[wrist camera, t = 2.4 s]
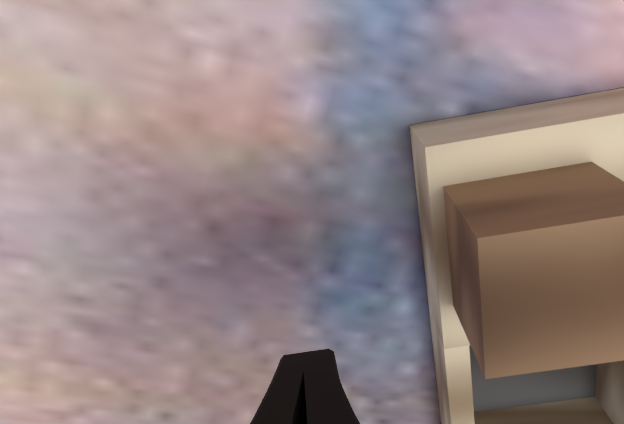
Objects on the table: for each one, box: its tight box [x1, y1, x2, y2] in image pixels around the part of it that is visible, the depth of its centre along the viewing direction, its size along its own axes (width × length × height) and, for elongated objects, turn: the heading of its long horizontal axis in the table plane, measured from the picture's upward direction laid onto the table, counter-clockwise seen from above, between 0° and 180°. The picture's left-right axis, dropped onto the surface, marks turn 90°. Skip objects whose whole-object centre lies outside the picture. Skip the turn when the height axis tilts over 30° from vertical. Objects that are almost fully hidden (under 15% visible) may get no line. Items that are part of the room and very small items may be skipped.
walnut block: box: [443, 162, 624, 379], centre depth 16 cm, size 5×5×4 cm
